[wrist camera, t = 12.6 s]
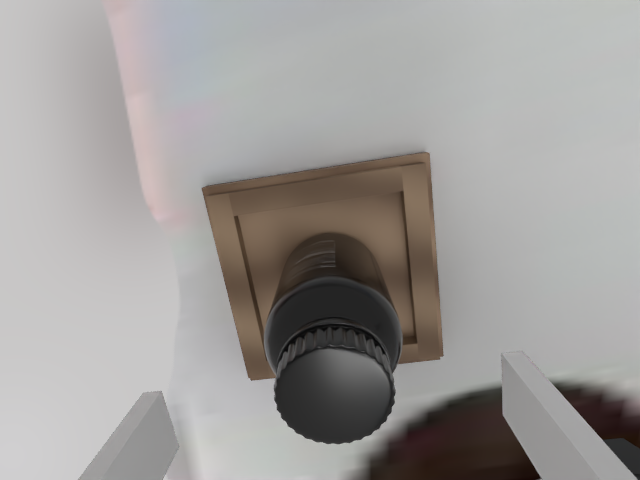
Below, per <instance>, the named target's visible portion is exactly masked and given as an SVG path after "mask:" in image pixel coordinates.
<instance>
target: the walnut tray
mask: <svg viewBox="0 0 640 480" xmlns="http://www.w3.org/2000/svg"><path fill="white" fill-rule="evenodd" d="M202 191H203V196H204V200H205V204H206V208H207V212H208V216H209V220H210V224H211V228H212V232H213V236H214V240H215V244H216V248H217V252H218V256H219V260H220V264H221V268H222V272H223V276H224V281H225V285H226V289H227V293H228V297H229V301H230V305H231V309H232V313H233V317H234V321H235V325H236V329H237V333H238V337H239V341H240V345H241V349H242V353H243V357H244V361H245V366H246V370H247V374H248V378H250V380H251V381H252V380H261V379H270V378H276V375H275V374H274V372H273V370H272V369H271V367H270V365H269V362H268V360H267V357H266V353H265V348H264V332H265V326H266V322H267V318H268V315H269V312H270V309H271V305H272V302H273V299H274V296H275V293H276V290H277V287H278V284H279V280H280V277H281V274H282V271H283V268H284V266H285V263H286V261H287V259H288V257H289V256H290V254H291V253H292V251H293V250H294V249H295V248H296V247H297V246H298V245H299V244H300V243H302V242H303V241H305V240H307V239H308V238H311V237H313V236H316V235H319V234H325V233H338V234H344V235H347V236H350V237H353V238H355V239H357V240H358V241H360V242H361V243H363V244H364V245H365V246H366V247H367V248H368V249H369V250H370V251H371V253H372V254H373V255H374V257H375V259H376V261H377V263H378V265H379V267H380V270H381V273H382V275H383V278H384V280H385V283H386V286H387V288H388V291H389V294H390V296H391V299H392V301H393V304H394V307H395V309H396V312H397V315H398V318H399V321H400V324H401V329H402V335H403V346H402V352H401V356H400V359H399V362H398V364H403V363H412V362H421V361H430V360H438V359H440V357H441V356H443V343H442V328H441V314H440V299H439V285H438V270H437V256H436V241H435V227H434V212H433V198H432V183H431V169H430V154H429V153H428V152H423V153H416V154H410V155H403V156H397V157H391V158H384V159H378V160H371V161H365V162H358V163H352V164H345V165H339V166H333V167H326V168H320V169H313V170H307V171H300V172H294V173H288V174H281V175H275V176H268V177H262V178H255V179H249V180H242V181H236V182H230V183H223V184H217V185H210V186H206V187H203V188H202Z"/></svg>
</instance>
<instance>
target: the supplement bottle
mask: <svg viewBox="0 0 640 480" xmlns="http://www.w3.org/2000/svg"><path fill="white" fill-rule="evenodd" d="M402 346H403V335H402V329H401V324H400V321H399V318H398V315H397V312H396V309H395V307H394V304H393V301H392V299H391V296H390V294H389V291H388V288H387V286H386V283H385V280H384V278H383V275H382V273H381V270H380V267H379V265H378V263H377V261H376V259H375V257H374V255H373V254H372V253H371V251H370V250H369V249H368V248H367V247H366V246H365V245H364V244H363V243H361V242H360V241H358V240H357V239H355V238H353V237H350V236H347V235H344V234H338V233H325V234H319V235H316V236H313V237H311V238H308V239H307V240H305V241H303V242H302V243H300V244H299V245H298V246H297V247H296V248H295V249H294V250H293V251H292V253H291V254H290V256H289V257H288V259H287V261H286V263H285V266H284V268H283V271H282V274H281V277H280V280H279V284H278V287H277V290H276V293H275V296H274V299H273V302H272V305H271V309H270V312H269V315H268V318H267V322H266V326H265V332H264V348H265V353H266V357H267V360H268V362H269V365H270V367H271V369H272V370H273V372H274V374H275V375H276V379H275V384H274V392H275V395H274V400H275V402H276V404H277V410H278V411H279V412H280V413H281V418H282V419H283V420H284V421H286V422H287V425H288V426H289V427H290V428H292V429H294V430H295V432H296V433H298V434H301V435H303V436H304V437H305V438H306V439H312V440H313V441H315V442H323V443H326V444H331V443H335V444H341V443H351V442H353V441H354V440H361V439H362V438H363V437H365V436H368V435H371V434H372V433H373V431H375V430H377V429H379V428H380V426H381V424H383V423H384V422H385V421H386V420H387V416H388V415H389V414H390V413H391V411H392V406H393V405H394V403H395V400H394V396H395V386H394V378H393V372H394V370H395V368H396V367H397V365H398V362H399V359H400V356H401V352H402Z"/></svg>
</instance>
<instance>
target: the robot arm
mask: <svg viewBox="0 0 640 480" xmlns="http://www.w3.org/2000/svg"><path fill="white" fill-rule="evenodd" d="M501 362H502V406H503V416H504V418H505V419H506V421H507V423H508V424H509V426H510V428H511V429H512V431H513V432H514V434H515V436H516V437H517V439H518V441H519V442H520V444H521V446H522V447H523V449H524V450H525V452H526V454H527V455H528V457H529V459H530V460H531V462H532V464H533V465H534V467H535V468H536V470H537V472H538V473H539V475H540V477H541V478H542V480H640V449H639V448H637V447H636V446H634V445H633V444H631V443H629V442H628V441H626V440H625V439H623V438H619V439H608V440H602V439H601V438H600V437H599V436H598V435H597V434H596V432H595V431H594V430H593V429H592V428H591V427H590V426H589V425H588V423H587V422H586V421H585V420H584V419H583V418H582V417H581V416H580V414H579V413H578V412H577V411H576V410H575V409H574V408H573V407H572V405H571V404H570V403H569V402H568V401H567V400H566V399H565V398H564V397H563V395H562V394H561V393H560V392H559V391H558V390H557V389H556V388H555V386H554V385H553V384H552V383H551V382H550V381H549V380H548V379H547V377H546V376H545V375H544V374H543V373H542V372H541V371H540V370H539V368H538V367H537V366H536V365H535V364H534V363H533V362H532V361H531V360H530V358H529V357H528V356H527V355H526V354H525V353H524V352H523V351H517V352H508V353H501ZM178 448H179V444H178V441H177V438H176V434H175V431H174V428H173V425H172V422H171V419H170V416H169V413H168V410H167V406H166V403H165V400H164V397H163V394H162V391H155V392H146V393H143V394H142V395H141V396H140V398H139V399H138V400H137V402H136V403H135V405H134V406H133V407H132V408H131V410H130V411H129V412H128V414H127V415H126V416H125V418H124V419H123V420H122V422H121V423H120V424H119V426H118V427H117V428H116V430H115V431H114V432H113V434H112V435H111V436H110V438H109V439H108V440H107V442H106V443H105V444H104V446H103V447H102V449H101V450H100V451H99V452H98V454H97V455H96V456H95V458H94V459H93V461H92V462H91V463H90V464H89V466H88V467H87V468H86V470H85V471H84V473H83V474H82V475H81V476H80V478H79V479H78V480H163V478H164V476H165V474H166V472H167V470H168V468H169V466H170V464H171V462H172V460H173V458H174V456H175V454H176V452H177V450H178Z"/></svg>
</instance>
